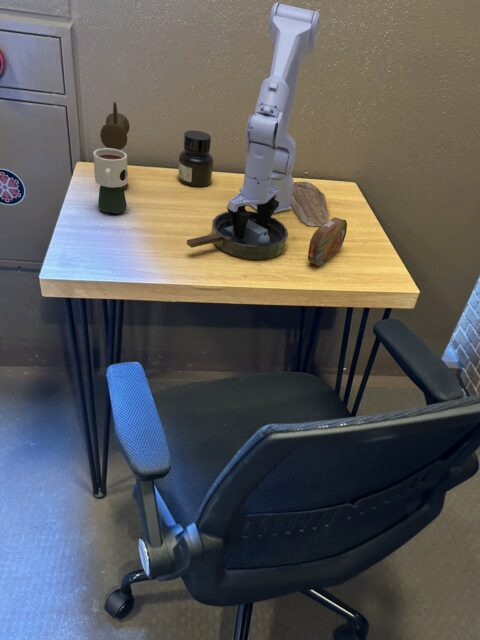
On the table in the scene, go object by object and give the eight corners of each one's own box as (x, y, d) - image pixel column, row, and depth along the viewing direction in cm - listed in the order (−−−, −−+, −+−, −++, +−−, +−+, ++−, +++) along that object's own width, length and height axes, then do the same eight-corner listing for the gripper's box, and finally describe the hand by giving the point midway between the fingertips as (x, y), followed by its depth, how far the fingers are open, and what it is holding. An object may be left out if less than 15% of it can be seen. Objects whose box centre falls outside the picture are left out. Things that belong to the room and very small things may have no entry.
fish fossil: (339, 227, 135) (340, 223, 134) (300, 228, 133) (301, 224, 132) (313, 183, 153) (314, 180, 152) (279, 184, 151) (279, 180, 150)
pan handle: (217, 236, 116) (218, 232, 115) (222, 240, 115) (222, 236, 114) (186, 244, 111) (186, 239, 111) (191, 248, 110) (191, 243, 110)
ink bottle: (176, 172, 145) (178, 127, 137) (208, 174, 147) (211, 129, 140) (180, 187, 138) (182, 140, 130) (213, 189, 140) (217, 143, 133)
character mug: (125, 222, 119) (124, 165, 111) (92, 218, 118) (88, 161, 110) (131, 201, 127) (130, 147, 119) (100, 198, 126) (97, 143, 118)
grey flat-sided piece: (223, 230, 123) (225, 215, 120) (235, 226, 125) (237, 212, 123) (261, 252, 118) (263, 237, 115) (272, 248, 120) (274, 232, 118)
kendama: (103, 193, 128) (98, 106, 115) (107, 177, 135) (103, 93, 122) (128, 196, 129) (126, 110, 116) (131, 180, 136) (130, 97, 123)
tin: (314, 271, 116) (322, 237, 111) (302, 266, 117) (309, 231, 112) (343, 248, 126) (352, 216, 121) (331, 243, 127) (340, 211, 122)
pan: (254, 218, 131) (256, 205, 129) (300, 251, 122) (303, 237, 120) (196, 231, 121) (197, 217, 119) (241, 267, 112) (243, 253, 110)
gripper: (266, 162, 118) (258, 218, 127) (220, 174, 109) (214, 233, 117) (290, 173, 115) (280, 230, 124) (245, 187, 106) (237, 247, 114)
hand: (249, 233), depth 120 cm, fingers open, 7 cm apart
